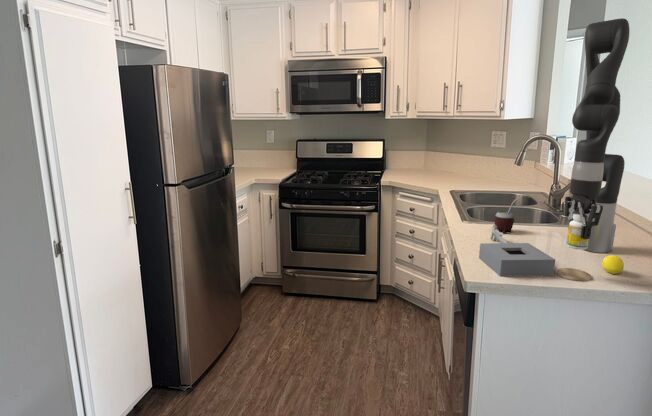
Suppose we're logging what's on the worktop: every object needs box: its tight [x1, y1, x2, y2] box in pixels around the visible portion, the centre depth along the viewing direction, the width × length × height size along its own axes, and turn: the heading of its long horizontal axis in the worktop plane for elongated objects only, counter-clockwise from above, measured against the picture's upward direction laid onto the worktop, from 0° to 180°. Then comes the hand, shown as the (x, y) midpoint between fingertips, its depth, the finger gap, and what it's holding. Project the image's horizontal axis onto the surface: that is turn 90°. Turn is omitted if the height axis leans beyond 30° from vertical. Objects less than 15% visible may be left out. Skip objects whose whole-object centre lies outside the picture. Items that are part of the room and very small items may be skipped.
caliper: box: [490, 224, 509, 243], centre depth 152 cm, size 20×1×6 cm, turn 2°
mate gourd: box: [494, 197, 521, 235], centre depth 170 cm, size 8×8×15 cm
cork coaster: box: [555, 267, 592, 282], centre depth 127 cm, size 9×9×1 cm
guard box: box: [478, 242, 556, 277], centre depth 133 cm, size 16×16×5 cm
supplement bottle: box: [566, 214, 589, 251], centre depth 124 cm, size 5×5×10 cm
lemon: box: [601, 254, 625, 275], centre depth 129 cm, size 7×5×5 cm
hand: (578, 235), depth 124 cm, fingers closed on supplement bottle, 5 cm apart
